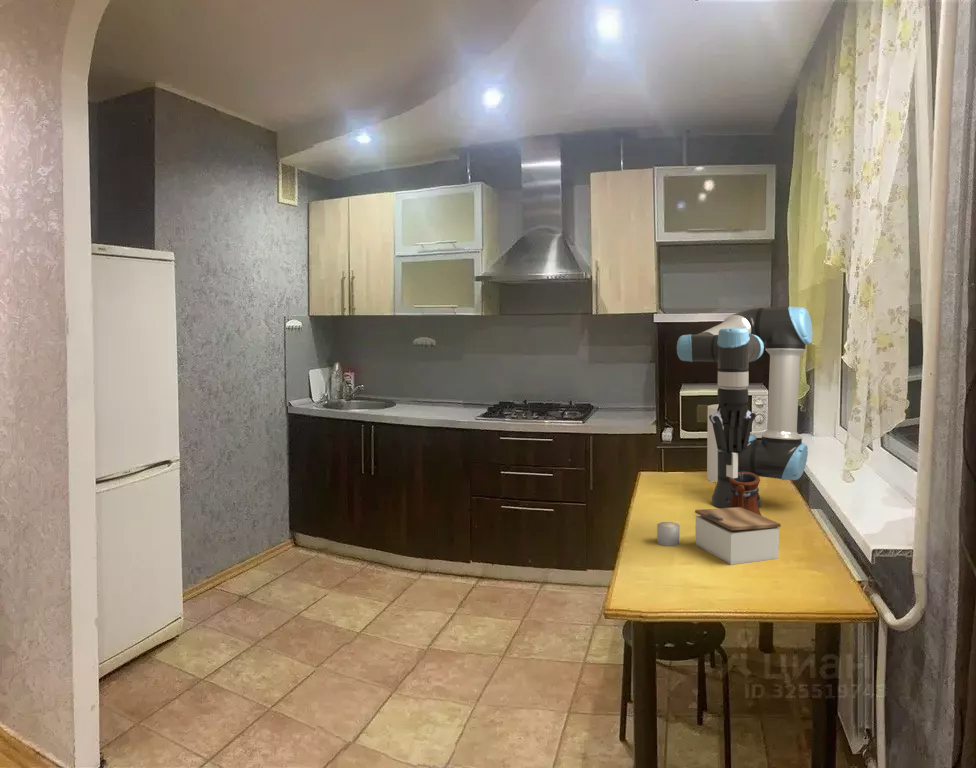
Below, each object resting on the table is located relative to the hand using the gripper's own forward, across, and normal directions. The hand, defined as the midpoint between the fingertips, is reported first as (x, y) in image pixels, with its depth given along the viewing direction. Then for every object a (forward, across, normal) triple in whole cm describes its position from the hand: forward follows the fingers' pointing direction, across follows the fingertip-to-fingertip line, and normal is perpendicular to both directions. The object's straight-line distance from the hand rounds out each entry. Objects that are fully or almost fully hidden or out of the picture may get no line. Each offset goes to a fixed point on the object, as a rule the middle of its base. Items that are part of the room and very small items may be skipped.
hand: (732, 476), depth 177 cm
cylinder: (+21, -50, -66) cm, 85 cm away
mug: (+21, -17, -17) cm, 32 cm away
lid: (+12, -1, 0) cm, 12 cm away
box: (+20, -1, 0) cm, 20 cm away
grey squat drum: (+20, +11, -12) cm, 26 cm away
